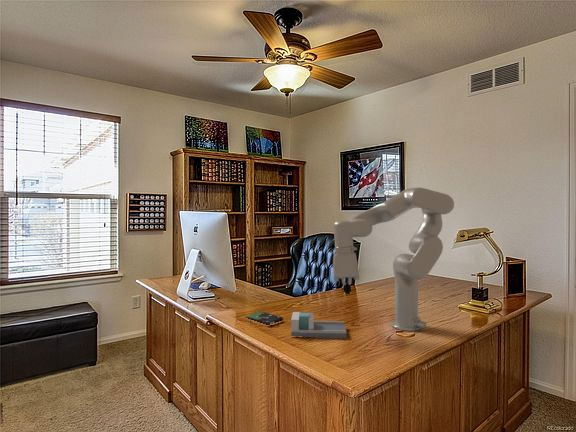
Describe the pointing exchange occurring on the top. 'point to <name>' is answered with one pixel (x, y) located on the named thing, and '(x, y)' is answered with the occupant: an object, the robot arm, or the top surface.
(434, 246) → the robot arm
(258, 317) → the disk drive
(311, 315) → the block
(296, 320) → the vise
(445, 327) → the top surface
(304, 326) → the teal block
